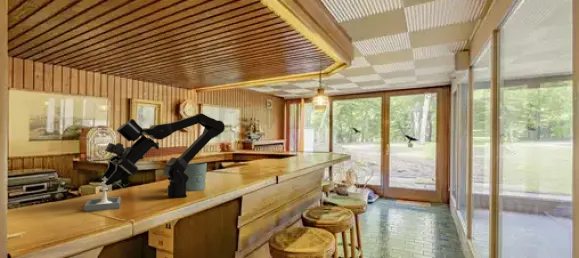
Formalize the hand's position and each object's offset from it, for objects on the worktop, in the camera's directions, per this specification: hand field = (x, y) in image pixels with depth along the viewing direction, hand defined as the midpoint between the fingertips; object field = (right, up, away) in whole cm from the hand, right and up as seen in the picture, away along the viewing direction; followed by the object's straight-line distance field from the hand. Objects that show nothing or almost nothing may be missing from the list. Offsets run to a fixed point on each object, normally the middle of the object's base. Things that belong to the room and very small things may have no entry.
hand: (103, 182), depth 99 cm
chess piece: (0, -8, 0) cm, 8 cm away
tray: (0, -8, 0) cm, 8 cm away
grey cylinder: (+21, -9, +32) cm, 40 cm away
